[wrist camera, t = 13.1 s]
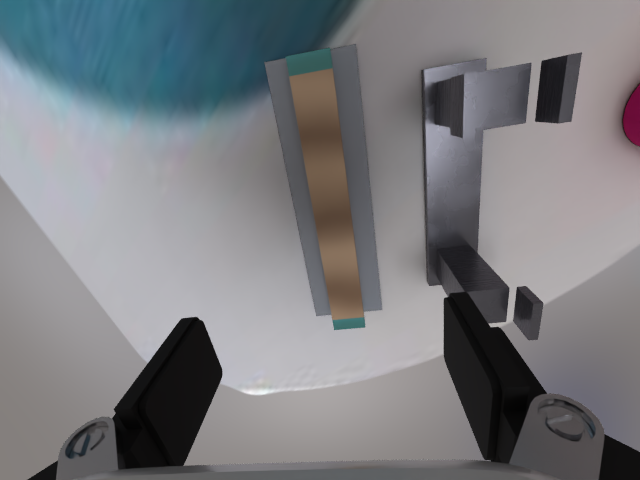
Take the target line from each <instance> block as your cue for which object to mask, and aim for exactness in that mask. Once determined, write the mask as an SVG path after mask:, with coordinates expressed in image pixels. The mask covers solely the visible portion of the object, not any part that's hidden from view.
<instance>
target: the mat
mask: <svg viewBox="0 0 640 480" xmlns="http://www.w3.org/2000/svg"><path fill="white" fill-rule="evenodd" d="M330 51H331V57H332V65H333V73H334V81H335V89H336V97H337V105H338V113H339V120H340V128H341V136H342V144H343V152H344V160H345V168H346V176H347V184H348V192H349V200H350V207H351V215H352V223H353V231H354V239H355V247H356V255H357V263H358V271H359V279H360V287H361V294H362V302H363V311H364V312H365V311H376V310H382V303H381V293H380V283H379V273H378V263H377V253H376V242H375V232H374V222H373V212H372V202H371V192H370V182H369V172H368V162H367V151H366V141H365V131H364V121H363V111H362V101H361V91H360V81H359V71H358V60H357V50H356V44H354V45H349V46H344V47H339V48H334V49H330ZM264 63H265V68H266V72H267V77H268V82H269V87H270V92H271V97H272V102H273V107H274V112H275V116H276V121H277V126H278V131H279V136H280V141H281V146H282V151H283V156H284V160H285V165H286V170H287V175H288V180H289V185H290V190H291V195H292V200H293V204H294V209H295V214H296V219H297V224H298V229H299V234H300V239H301V244H302V248H303V253H304V258H305V263H306V268H307V273H308V278H309V283H310V288H311V292H312V297H313V302H314V307H315V312H316V316H322V315H332V314H331V309H330V303H329V297H328V292H327V286H326V280H325V275H324V269H323V264H322V258H321V252H320V247H319V241H318V235H317V230H316V224H315V219H314V213H313V207H312V202H311V196H310V191H309V185H308V179H307V174H306V168H305V162H304V157H303V151H302V146H301V140H300V134H299V129H298V123H297V117H296V112H295V106H294V101H293V95H292V89H291V84H290V78H289V73H288V67H287V61H286V58H284V59H279V60H274V61H269V62H264Z"/></svg>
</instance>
